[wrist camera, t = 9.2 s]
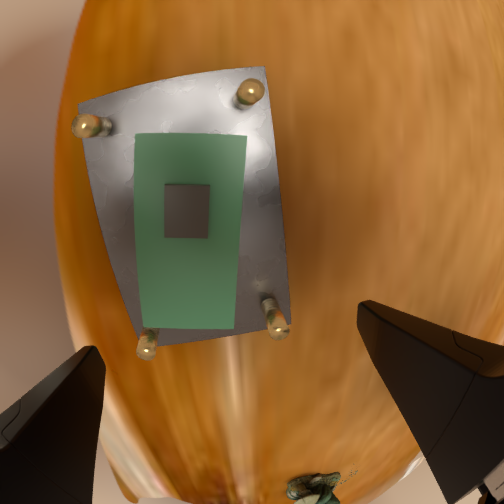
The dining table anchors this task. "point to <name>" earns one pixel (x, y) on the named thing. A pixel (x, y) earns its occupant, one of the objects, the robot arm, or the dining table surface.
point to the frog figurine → (314, 489)
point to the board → (188, 227)
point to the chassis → (254, 190)
